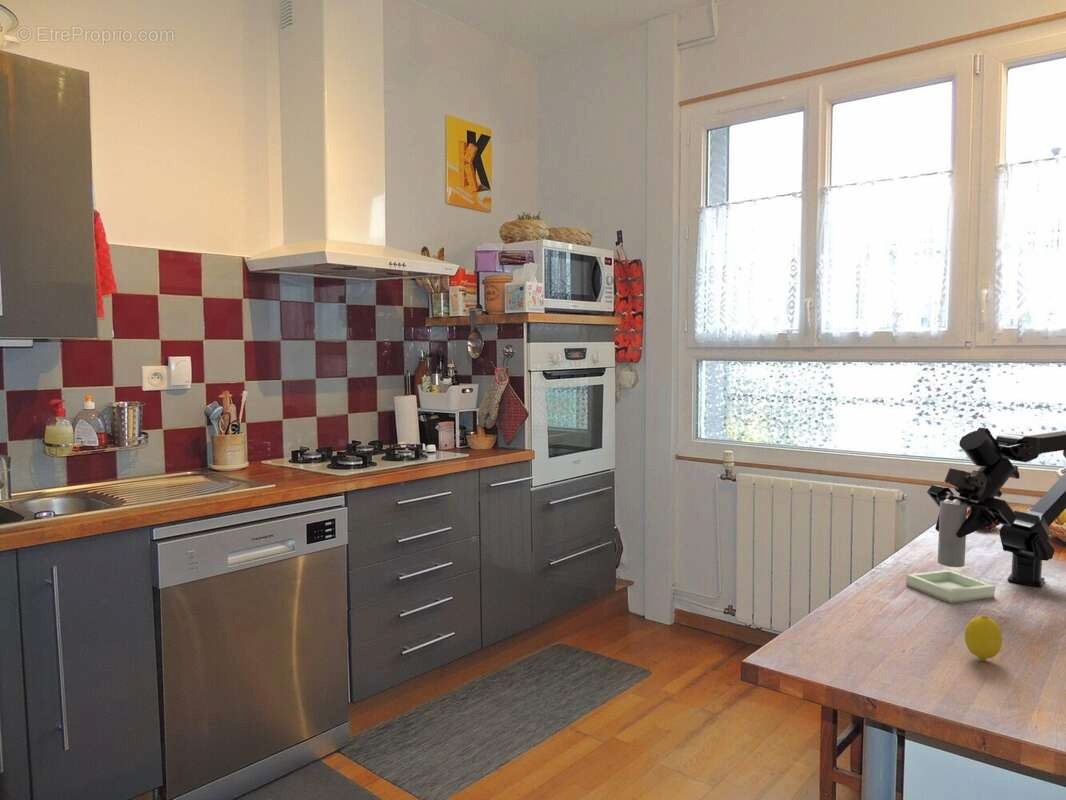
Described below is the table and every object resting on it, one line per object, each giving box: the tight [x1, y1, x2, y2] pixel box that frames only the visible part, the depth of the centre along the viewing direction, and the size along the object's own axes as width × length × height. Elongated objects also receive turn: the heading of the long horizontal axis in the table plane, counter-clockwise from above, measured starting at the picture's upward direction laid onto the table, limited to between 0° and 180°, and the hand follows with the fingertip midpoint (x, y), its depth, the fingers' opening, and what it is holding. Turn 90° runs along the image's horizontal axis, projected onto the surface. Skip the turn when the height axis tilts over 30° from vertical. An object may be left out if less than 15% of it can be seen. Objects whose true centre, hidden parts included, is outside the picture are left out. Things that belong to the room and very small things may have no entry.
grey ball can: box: [937, 499, 968, 568], centre depth 164 cm, size 5×5×14 cm
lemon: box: [964, 614, 1003, 662], centre depth 129 cm, size 6×6×8 cm
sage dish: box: [905, 569, 996, 604], centre depth 165 cm, size 12×12×2 cm
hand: (947, 533), depth 164 cm, fingers closed on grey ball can, 5 cm apart
